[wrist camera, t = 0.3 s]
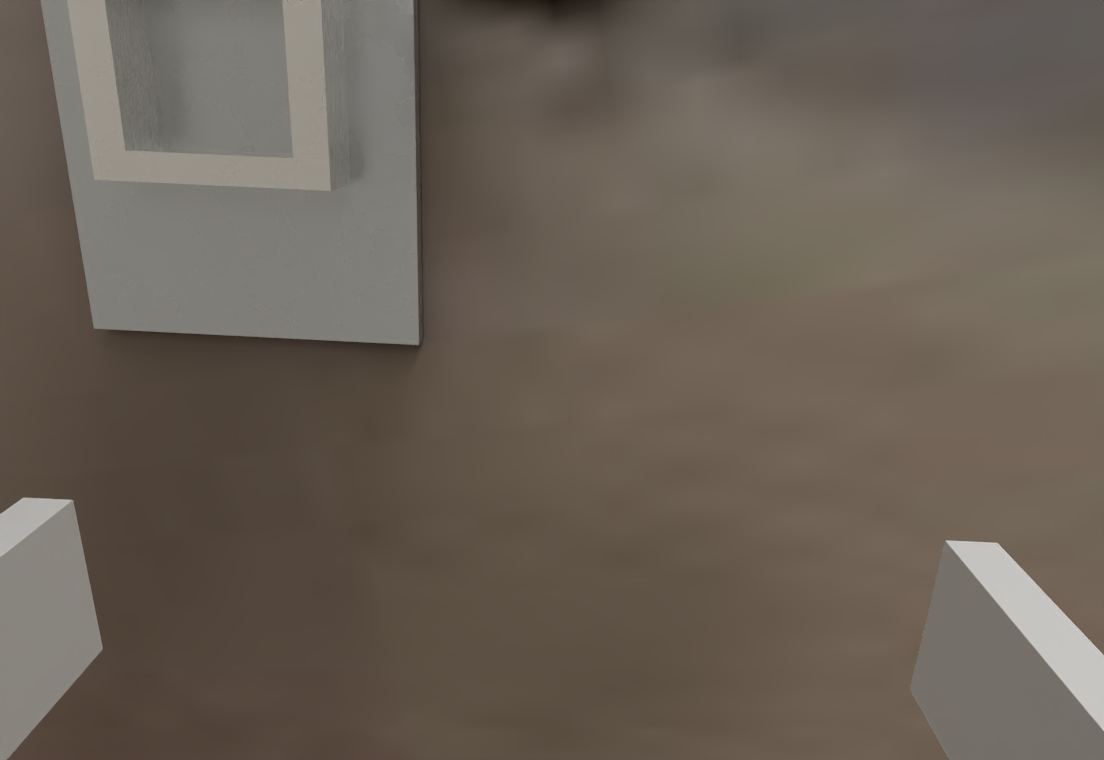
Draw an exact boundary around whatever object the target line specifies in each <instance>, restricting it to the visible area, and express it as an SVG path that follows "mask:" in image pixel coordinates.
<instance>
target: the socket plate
mask: <svg viewBox="0 0 1104 760" xmlns="http://www.w3.org/2000/svg"><path fill="white" fill-rule="evenodd" d="M41 6H42V13H43V19H44V25H45V31H46V37H47V43H48V49H49V56H50V62H51V68H52V74H53V80H54V86H55V93H56V99H57V105H58V111H59V117H60V123H61V129H62V136H63V142H64V148H65V154H66V160H67V166H68V173H69V179H70V185H71V191H72V197H73V203H74V209H75V216H76V222H77V228H78V234H79V240H80V246H81V253H82V259H83V265H84V271H85V277H86V283H87V289H88V296H89V302H90V308H91V314H92V320H93V326H94V329H112V330H131V331H151V332H171V333H191V334H210V335H230V336H250V337H270V338H289V339H309V340H329V341H349V342H368V343H388V344H408V345H419V344H420V343H421V341H422V340H423V316H422V245H421V175H420V104H419V33H418V0H41Z"/></svg>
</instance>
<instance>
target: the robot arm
mask: <svg viewBox="0 0 1104 760" xmlns="http://www.w3.org/2000/svg"><path fill="white" fill-rule="evenodd" d="M102 649H103V647H102V642H101V637H100V632H99V627H98V622H97V617H96V612H95V607H94V602H93V597H92V592H91V587H90V582H89V577H88V572H87V567H86V562H85V557H84V552H83V547H82V542H81V537H80V532H79V527H78V522H77V517H76V512H75V507H74V502H73V500H63V499H42V498H22V499H21V500H19V501H18V502H17V503H15V504H14V505H12V506H11V507H10V508H8V509H7V510H5V511H4V512H3V513H1V514H0V760H7V759H8V758H9V756H10V755H11V754H12V753H13V752H14V751H15V750H16V748H17V747H18V746H19V745H20V744H21V743H22V742H23V740H24V739H25V738H26V737H27V736H28V735H29V733H30V732H31V731H32V730H33V729H34V728H35V727H36V725H37V724H38V723H39V722H40V721H41V720H42V719H43V717H44V716H45V715H46V714H47V713H48V712H49V710H50V709H51V708H52V707H53V706H54V705H55V704H56V702H57V701H58V700H59V699H60V698H61V697H62V696H63V694H64V693H65V692H66V691H67V690H68V689H69V687H70V686H71V685H72V684H73V683H74V682H75V681H76V679H77V678H78V677H79V676H80V675H81V674H82V672H83V671H84V670H85V669H86V668H87V667H88V666H89V664H90V663H91V662H92V661H93V660H94V659H95V658H96V656H97V655H98V654H99V653H100V652H101V651H102ZM910 691H911V693H912V695H913V696H914V698H915V700H916V702H917V703H918V705H919V707H920V709H921V711H922V712H923V714H924V716H925V718H926V720H927V721H928V723H929V725H930V727H931V728H932V730H933V732H934V734H935V736H936V737H937V739H938V741H939V743H940V744H941V746H942V748H943V750H944V752H945V753H946V755H947V757H948V759H949V760H1104V655H1103V654H1102V653H1101V652H1100V651H1099V650H1098V649H1097V648H1096V647H1095V646H1094V645H1093V644H1092V643H1091V641H1090V640H1089V639H1088V638H1087V637H1086V636H1085V635H1084V634H1083V633H1082V632H1081V631H1080V630H1079V629H1078V628H1077V627H1076V626H1075V625H1074V623H1073V622H1072V621H1071V620H1070V619H1069V618H1068V617H1067V616H1066V615H1065V614H1064V613H1063V612H1062V611H1061V610H1060V609H1059V608H1058V607H1057V606H1056V604H1055V603H1054V602H1053V601H1052V600H1051V599H1050V598H1049V597H1048V596H1047V595H1046V594H1045V593H1044V592H1043V591H1042V590H1041V589H1040V588H1039V586H1038V585H1037V584H1036V583H1035V582H1034V581H1033V580H1032V579H1031V578H1030V577H1029V576H1028V575H1027V574H1026V573H1025V572H1024V571H1023V570H1022V568H1021V567H1020V566H1019V565H1018V564H1017V563H1016V562H1015V561H1014V560H1013V559H1012V558H1011V557H1010V556H1009V555H1008V554H1007V553H1006V552H1005V550H1004V549H1003V548H1002V547H1001V546H1000V545H999V544H998V543H988V542H966V541H945V544H944V548H943V552H942V556H941V561H940V565H939V569H938V573H937V577H936V582H935V586H934V590H933V594H932V598H931V603H930V607H929V611H928V615H927V619H926V624H925V628H924V632H923V636H922V640H921V645H920V649H919V653H918V657H917V661H916V666H915V670H914V674H913V678H912V682H911V687H910Z"/></svg>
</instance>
